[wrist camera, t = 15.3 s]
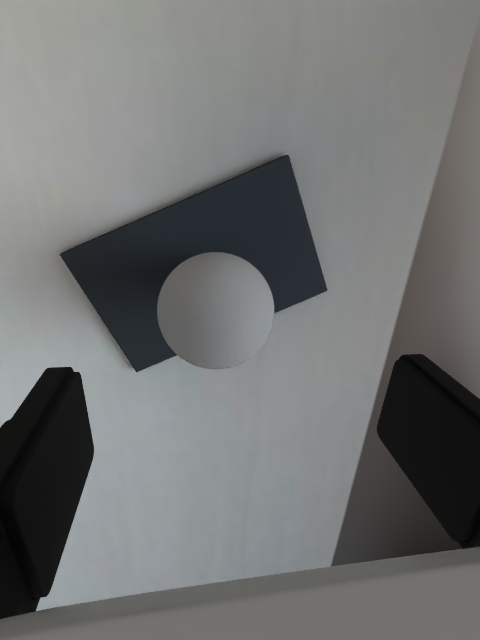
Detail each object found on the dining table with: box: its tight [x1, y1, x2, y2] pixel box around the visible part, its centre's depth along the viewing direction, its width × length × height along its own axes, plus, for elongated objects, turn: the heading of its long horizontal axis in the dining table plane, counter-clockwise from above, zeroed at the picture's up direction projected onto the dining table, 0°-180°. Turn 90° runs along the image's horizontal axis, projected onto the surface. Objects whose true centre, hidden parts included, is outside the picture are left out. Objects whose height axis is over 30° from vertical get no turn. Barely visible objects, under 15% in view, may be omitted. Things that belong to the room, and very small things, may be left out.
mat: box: [60, 155, 327, 372], centre depth 24 cm, size 16×10×1 cm, turn 112°
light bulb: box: [157, 252, 274, 369], centre depth 19 cm, size 6×6×10 cm
